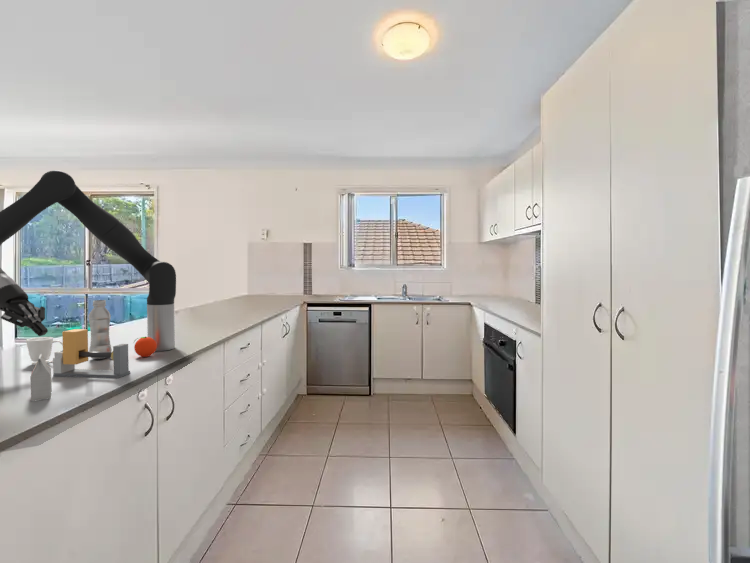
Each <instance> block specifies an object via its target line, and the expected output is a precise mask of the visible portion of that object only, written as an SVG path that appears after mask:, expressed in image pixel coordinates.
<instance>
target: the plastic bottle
mask: <svg viewBox="0 0 750 563" xmlns="http://www.w3.org/2000/svg"><path fill="white" fill-rule="evenodd" d="M106 302H107V301H106V299H97V300H93V301H92V307H93V308H92V309H91V311H90V312H89V313H88V316H87V317H88V323H89V328H90V344H89V348H88V352H112V351H113V348H112V345H111V340H110V339H111V338H110V325H111V318H112V317H111V316H112V315H111V313H110V311H109V310H108V309H107V307H106V306H107V303H106ZM90 358H91V359H93V360H103V359H105V358H100V357H90Z"/></svg>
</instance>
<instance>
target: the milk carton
mask: <svg viewBox="0 0 750 563" xmlns="http://www.w3.org/2000/svg"><path fill="white" fill-rule="evenodd" d="M46 361H47V360H46ZM46 361H45V359H44V358H43V356H42V354H40V356H39V359H38V362H37V363H36V365H34V367H33V369H32V371H31V374H30V402H36V401H35V400H37V401H42V400H41V399H44V400H48V399H47V398H50V399H51V398H52V393H51V392H52V391H53V390H52V389H53V388H52V368H51V367H50V365H49V364H48V363H47V362H46Z"/></svg>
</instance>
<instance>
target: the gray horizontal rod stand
mask: <svg viewBox="0 0 750 563" xmlns="http://www.w3.org/2000/svg"><path fill="white" fill-rule="evenodd" d="M53 353H54V357H53V358H52V360H53V362H52V369H53V370H52V374H53V377H72V376H77V377H79V378H81V377H82V378H103V377H106V379H107V378H109V379H120V378H122V377H125V376H128V375H129V374H131V370H130V369H129V344H128V343H120V344H117V345H113V346H112V352H89V351H88V352H84V351H79V357H88V358H91V357H100V358H104V359H111V360H112V361H113V364H112V365H113V369H89V368H87V369H86V368H85V369H84V368H76V367H75V366H76V365H75V364H63V349H62V350H60V351H54V352H53Z"/></svg>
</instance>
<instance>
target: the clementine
mask: <svg viewBox="0 0 750 563" xmlns="http://www.w3.org/2000/svg"><path fill="white" fill-rule="evenodd" d="M135 341H136V342H135ZM133 343H134V346H133V347H134V352H135V353H136V354H137V355H138V356H139V357H143V358H145V357H150V356H152V355H153V354H154V353H155V352H157V351H156V349H157V344H156V342H155V340H154V339H152V338H150V337H148V336H141V337H137V338H136V340H133Z"/></svg>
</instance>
